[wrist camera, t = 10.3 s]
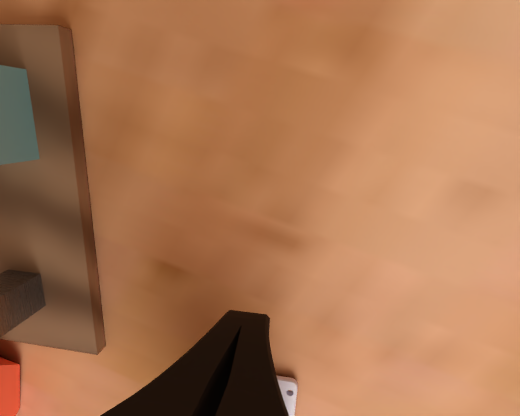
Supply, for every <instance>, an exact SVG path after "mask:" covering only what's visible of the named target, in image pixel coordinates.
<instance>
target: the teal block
mask: <svg viewBox="0 0 520 416" xmlns="http://www.w3.org/2000/svg"><path fill="white" fill-rule="evenodd" d="M38 159H40V158H39V151H38V144H37V138H36V131H35V124H34V118H33V111H32V104H31V98H30V91H29V84H28V78H27V71H26V69H21V68H15V67H9V66H4V65H0V165H3V164H10V163H17V162H24V161H31V160H38Z"/></svg>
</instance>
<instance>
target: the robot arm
mask: <svg viewBox="0 0 520 416" xmlns="http://www.w3.org/2000/svg"><path fill="white" fill-rule="evenodd" d="M269 323H270V318H269V317H268V316H267V315H266V314H258V313H249V312H241V311H233V310H229V311H228V312H227V313H226V314H225V315H224V316H223V317H222V318H221V319H220V320H219V321H218V322H217V323H216V324H215V325H214V327H213V328H212V329H211V330H210V331H209V332H208V333H207V334H206V335H205V336H204V337H203V338H201V339H200V340H199V341H198V342H197V343H196V344H195V345H194V346H193V347H192V348H191V349H190V350H189V351H188V352H187V353H186V354H184V355H183V356H182V357H181V358H180V359H179V360H177V361H176V362H175V363H174V364H173V365H172V366H170V367H169V368H168V369H167V370H166V371H164V372H163V373H162V374H161V375H159V376H158V377H157V378H155V379H154V380H153V381H152V382H150V383H149V384H148V385H146V386H145V387H143V388H142V389H141V390H139V391H138V392H136V393H135V394H134V395H132V396H131V397H129V398H128V399H126V400H124V401H123V402H121V403H120V404H118V405H117V406H115V407H113V408H112V409H110V410H109V411H107V412H105V413H104V414H102V415H101V416H295V407H296V398H297V388H298V383H297V381H296V380H295V379H293V378H289V377H283V376H277V375H276V372H275V368H274V364H273V359H272V354H271V349H270V342H269ZM288 390H291V391H288Z"/></svg>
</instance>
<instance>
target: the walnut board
mask: <svg viewBox="0 0 520 416" xmlns="http://www.w3.org/2000/svg"><path fill="white" fill-rule="evenodd" d="M0 65H4V66H9V67H15V68H21V69H26V71H27V78H28V84H29V91H30V98H31V104H32V111H33V118H34V124H35V131H36V138H37V144H38V151H39V158H40V159H38V160H31V161H24V162H17V163H10V164H3V165H0V273H2V272H4V271H6V270H8V269H9V270H16V271H24V272H32V273H40V274H41V279H42V285H43V291H44V297H45V303H46V306H45V307H43V308H42V309H40V310H39V311H38V312H36V313H35V314H33V315H32V316H30V317H29V318H28V319H26V320H25V321H23V322H22V323H21V324H19V325H18V326H16V327H15V328H13V329H12V330H11V331H9V332H8V333H6V334H5V335H4V336H2V337H1V338H0V339H4V340H10V341H16V342H22V343H28V344H34V345H40V346H46V347H53V348H59V349H65V350H71V351H77V352H83V353H89V354H95V355H98V354H99V352H100V351H101V350H102V349H103V348H104V347H105V346H106V344H105V335H104V326H103V317H102V307H101V298H100V289H99V280H98V271H97V262H96V252H95V243H94V234H93V225H92V216H91V206H90V197H89V188H88V179H87V170H86V161H85V151H84V142H83V133H82V124H81V115H80V106H79V96H78V87H77V78H76V69H75V60H74V50H73V41H72V32H71V30H70V29H67V28H64V27H62V26H59V25H14V24H0Z"/></svg>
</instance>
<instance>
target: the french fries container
mask: <svg viewBox="0 0 520 416" xmlns="http://www.w3.org/2000/svg"><path fill="white" fill-rule="evenodd" d="M19 408H20V365H19V364H17V363H14V362H12V361H9V360H6V359H4V358H1V357H0V416H15V415H16V413H17V412H18V410H19Z"/></svg>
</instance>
